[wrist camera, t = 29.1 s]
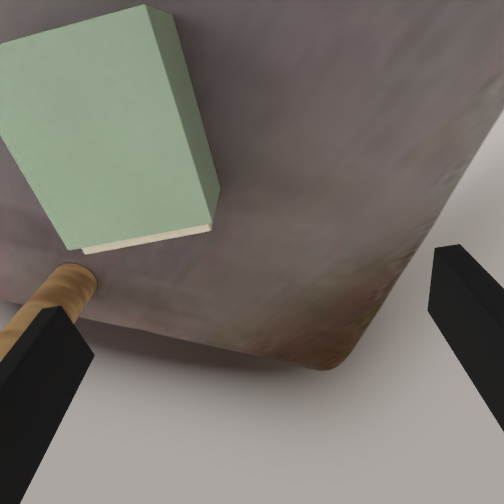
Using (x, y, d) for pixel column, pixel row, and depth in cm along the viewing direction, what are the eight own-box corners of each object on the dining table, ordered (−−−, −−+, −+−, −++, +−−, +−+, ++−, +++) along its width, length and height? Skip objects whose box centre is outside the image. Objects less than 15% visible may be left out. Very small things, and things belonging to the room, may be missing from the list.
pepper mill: (45, 267, 42) (-73, 393, 27) (85, 259, 41) (-13, 384, 26) (66, 299, 45) (-30, 430, 29) (104, 293, 44) (26, 423, 29)
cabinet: (220, 188, 36) (212, 223, 29) (102, 212, 38) (68, 251, 31) (172, 13, 28) (145, 3, 21) (24, 53, 30) (-48, 56, 23)
